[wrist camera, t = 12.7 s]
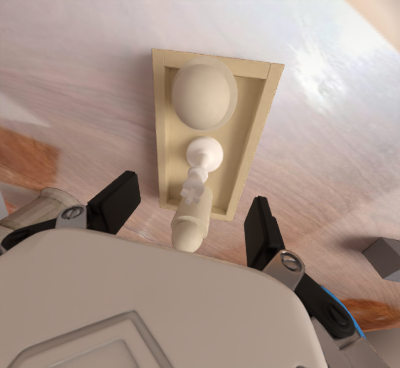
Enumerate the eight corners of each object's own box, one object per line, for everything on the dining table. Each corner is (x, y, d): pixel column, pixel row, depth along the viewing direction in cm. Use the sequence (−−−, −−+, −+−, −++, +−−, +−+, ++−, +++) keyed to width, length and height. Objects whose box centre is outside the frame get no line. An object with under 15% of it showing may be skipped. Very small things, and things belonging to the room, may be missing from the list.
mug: (64, 223, 37) (3, 274, 27) (31, 191, 32) (-58, 238, 22) (110, 219, 33) (59, 276, 23) (81, 181, 28) (1, 233, 18)
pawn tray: (161, 52, 16) (74, 10, 7) (277, 67, 15) (349, 39, 6) (165, 198, 27) (133, 254, 18) (231, 211, 26) (232, 276, 17)
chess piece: (210, 176, 22) (199, 232, 14) (180, 159, 21) (150, 206, 13) (230, 149, 19) (232, 197, 11) (197, 128, 18) (172, 162, 10)
